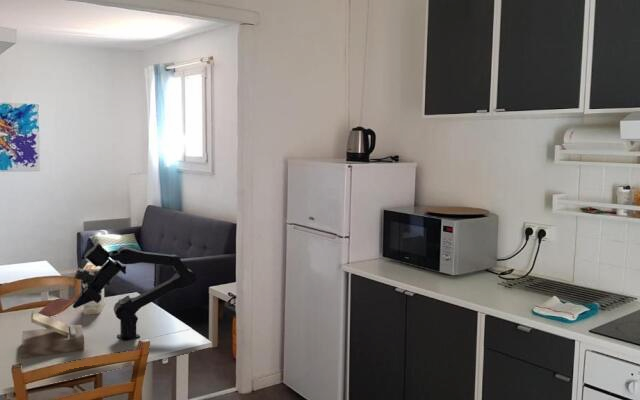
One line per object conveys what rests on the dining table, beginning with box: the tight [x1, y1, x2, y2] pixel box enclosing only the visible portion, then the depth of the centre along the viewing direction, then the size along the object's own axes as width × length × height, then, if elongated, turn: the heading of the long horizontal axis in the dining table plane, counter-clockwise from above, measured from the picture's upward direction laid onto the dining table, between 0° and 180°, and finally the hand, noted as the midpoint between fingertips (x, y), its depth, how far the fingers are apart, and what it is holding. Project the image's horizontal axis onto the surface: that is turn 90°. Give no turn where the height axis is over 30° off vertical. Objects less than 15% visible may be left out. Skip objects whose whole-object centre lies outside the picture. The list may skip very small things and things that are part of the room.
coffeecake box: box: [82, 261, 105, 315], centre depth 247 cm, size 15×7×20 cm, turn 14°
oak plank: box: [30, 310, 69, 336], centre depth 201 cm, size 13×10×1 cm
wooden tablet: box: [37, 297, 77, 317], centre depth 248 cm, size 27×10×2 cm, turn 4°
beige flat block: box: [21, 323, 85, 359], centre depth 202 cm, size 20×15×6 cm
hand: (73, 307), depth 204 cm, fingers closed
